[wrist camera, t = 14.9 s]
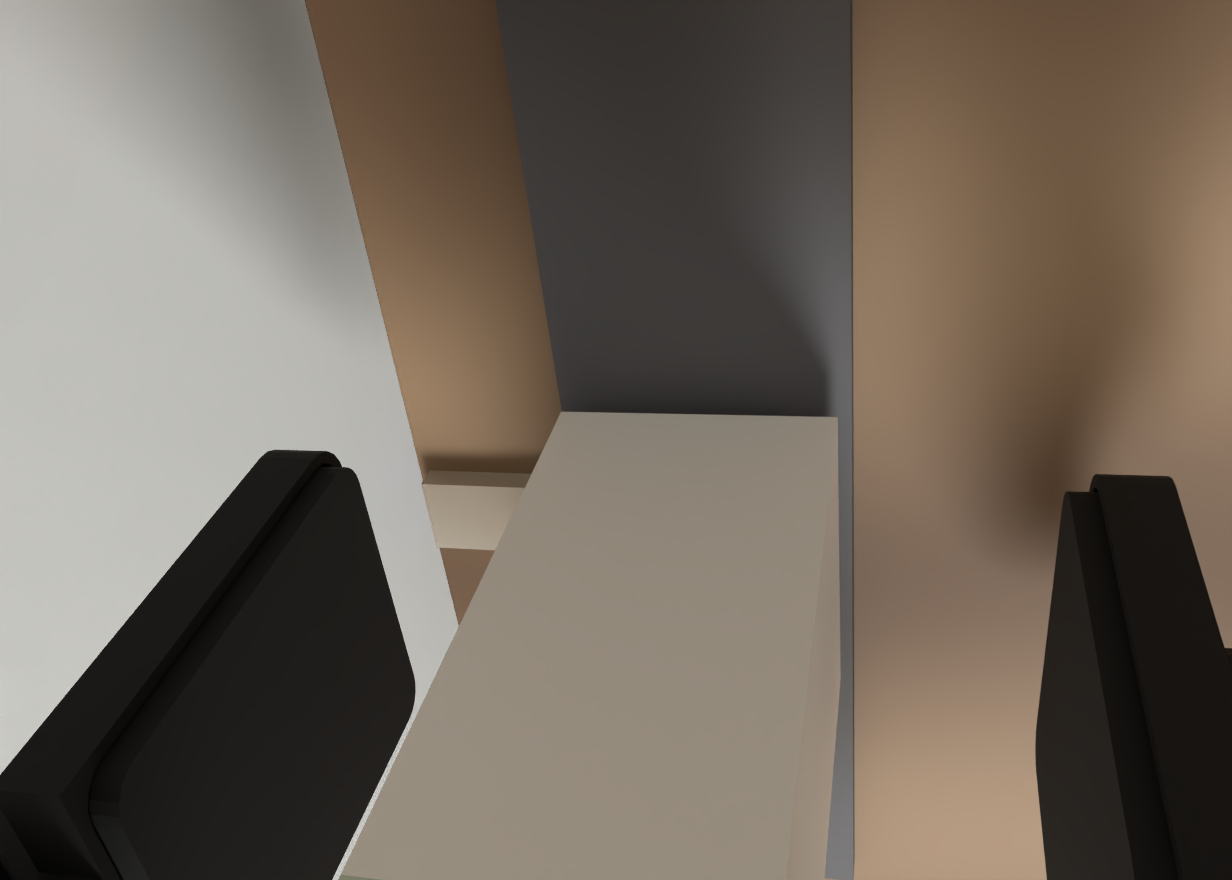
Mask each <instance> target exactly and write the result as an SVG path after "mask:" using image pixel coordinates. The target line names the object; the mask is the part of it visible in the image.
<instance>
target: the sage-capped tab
mask: <svg viewBox="0 0 1232 880" xmlns="http://www.w3.org/2000/svg"><path fill="white" fill-rule="evenodd" d="M840 680H841V669H840V580H839V490H838V417H809V416H758V415H706V414H655V413H604V412H561V413H560V415H559V417H558V419H557V421H556V424H555V426H554V428H553V430H552V432H551V434H550V436H549V438H548V440H547V442H546V445H545V447H544V449H543V451H542V453H541V455H540V457H539V459H538V461H537V463H536V466H535V468H534V470H533V472H532V474H531V476H530V478H529V480H528V482H527V485H526V487H525V489H524V491H523V493H522V495H521V497H520V499H519V501H518V503H517V506H516V508H515V510H514V512H513V514H512V516H511V518H510V520H509V522H508V524H507V527H506V529H505V531H504V533H503V535H502V537H501V539H500V541H499V543H498V545H497V548H496V550H495V552H494V554H493V556H492V558H491V560H490V562H489V564H488V566H487V569H486V571H485V573H484V575H483V577H482V579H481V581H480V583H479V585H478V588H477V590H476V592H475V594H474V596H473V598H472V600H471V602H470V604H469V606H468V609H467V611H466V613H465V615H464V617H463V619H462V621H461V623H460V625H459V627H458V630H457V632H456V634H455V636H454V638H453V640H452V642H451V644H450V646H449V648H448V651H447V653H446V655H445V657H444V659H443V661H442V663H441V665H440V667H439V669H438V672H437V674H436V676H435V678H434V680H433V682H432V684H431V686H430V688H429V691H428V693H427V695H426V697H425V699H424V701H423V703H422V705H421V707H420V709H419V712H418V714H417V716H416V718H415V720H414V722H413V724H412V726H411V728H410V730H409V733H408V735H407V737H406V739H405V741H404V743H403V745H402V747H401V749H400V751H399V754H398V756H397V758H396V760H395V762H394V764H393V766H392V768H391V770H390V773H389V775H388V777H387V779H386V781H385V783H384V785H383V787H382V789H381V791H380V794H379V796H378V798H377V800H376V802H375V804H374V806H373V808H372V810H371V812H370V815H369V817H368V819H367V821H366V823H365V825H364V827H363V829H362V831H361V833H360V836H359V838H358V840H357V842H356V844H355V846H354V848H353V850H352V852H351V854H350V857H349V859H348V861H347V863H346V865H345V867H344V869H343V871H342V873H341V876H340V878H339V880H824V878H825V865H826V853H827V841H828V828H829V816H830V803H831V791H832V779H833V766H834V754H835V742H836V729H837V717H838V704H839V692H840Z"/></svg>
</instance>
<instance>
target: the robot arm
mask: <svg viewBox="0 0 1232 880" xmlns="http://www.w3.org/2000/svg"><path fill="white" fill-rule="evenodd" d="M414 701H415V679H414V674H413V671H412V667H411V664H410V660H409V657H408V653H407V649H406V646H405V642H404V639H403V635H402V632H401V628H400V625H399V621H398V618H397V614H396V611H395V607H394V603H393V600H392V596H391V593H390V589H389V586H388V582H387V579H386V575H385V572H384V568H383V565H382V561H381V557H380V554H379V550H378V547H377V543H376V540H375V536H374V533H373V529H372V526H371V522H370V519H369V515H368V511H367V508H366V504H365V501H364V497H363V494H362V490H361V487H360V483H359V480H358V478H357V475H356V474H355V473H354V471H353V470H352V469H350V468H346V467H342V466H341V464H340V461H339V460H338V459H337V457H336V456H335V455H334V454H332V453H330V452H327V451H299V450H272V451H268V452H267V453H265V454H264V455H263V456H262V457H261V458H260V459H259V460H258V461H257V463H256V464H255V465H254V466H253V468H252V469H251V470H250V471H249V472H248V474H247V475H246V476H245V477H244V479H243V480H242V481H241V482H240V483H239V485H238V486H237V487H236V488H235V489H234V491H233V492H232V493H231V494H230V496H229V497H228V498H227V499H226V500H225V502H224V503H223V504H222V505H221V507H220V508H219V509H218V510H217V511H216V513H215V514H214V515H213V516H212V518H211V519H210V520H209V521H208V522H207V524H206V525H205V526H204V527H203V528H202V530H201V531H200V532H199V533H198V535H197V536H196V537H195V538H194V539H193V541H192V542H191V543H190V544H189V546H188V547H187V548H186V549H185V550H184V552H183V553H182V554H181V555H180V557H179V558H178V559H177V560H176V561H175V563H174V564H173V565H172V566H171V567H170V569H169V570H168V571H167V572H166V574H165V575H164V576H163V577H162V578H161V580H160V581H159V582H158V583H157V585H156V586H155V587H154V588H153V589H152V591H151V592H150V593H149V594H148V596H147V597H146V598H145V599H144V600H143V602H142V603H141V604H140V605H139V606H138V608H137V609H136V610H135V611H134V613H133V614H132V615H131V616H130V617H129V619H128V620H127V621H126V622H125V624H124V625H123V626H122V627H121V628H120V630H119V631H118V632H117V633H116V635H115V636H114V637H113V638H112V639H111V641H110V642H109V643H108V644H107V645H106V647H105V648H104V649H103V650H102V652H101V653H100V654H99V655H98V656H97V658H96V659H95V660H94V661H93V663H92V664H91V665H90V666H89V667H88V669H87V670H86V671H85V672H84V674H83V675H82V676H81V677H80V678H79V680H78V681H77V682H76V683H75V684H74V686H73V687H72V688H71V689H70V691H69V692H68V693H67V694H66V695H65V697H64V698H63V699H62V700H61V702H60V703H59V704H58V705H57V706H56V708H55V709H54V710H53V711H52V713H51V714H50V715H49V716H48V717H47V719H46V720H45V721H44V722H43V724H42V725H41V726H40V727H39V728H38V730H37V731H36V732H35V733H34V734H33V736H32V737H31V738H30V739H29V741H28V742H27V743H26V744H25V745H24V747H23V748H22V749H21V750H20V752H19V753H18V754H17V755H16V756H15V758H14V759H13V760H12V761H11V763H10V764H9V765H8V766H7V767H6V769H5V770H4V771H3V772H2V773H1V775H0V880H332V879H333V877H334V875H335V872H336V870H337V868H338V866H339V864H340V862H341V860H342V858H343V856H344V854H345V852H346V850H347V847H348V845H349V843H350V841H351V839H352V837H353V835H354V833H355V831H356V829H357V827H358V825H359V823H360V820H361V818H362V816H363V814H364V812H365V810H366V808H367V806H368V804H369V802H370V800H371V798H372V796H373V793H374V791H375V789H376V787H377V785H378V783H379V781H380V779H381V777H382V775H383V773H384V771H385V768H386V766H387V764H388V762H389V760H390V758H391V756H392V754H393V752H394V750H395V748H396V746H397V744H398V741H399V739H400V737H401V735H402V733H403V731H404V729H405V727H406V725H407V723H408V721H409V718H410V716H411V713H412V710H413V706H414ZM1035 758H1036V775H1037V785H1038V795H1039V805H1040V815H1041V825H1042V835H1043V845H1044V855H1045V865H1046V875H1047V880H1232V648H1224V644H1223V641H1222V638H1221V634H1220V631H1219V628H1218V624H1217V621H1216V618H1215V614H1214V611H1213V608H1212V604H1211V601H1210V598H1209V594H1208V591H1207V588H1206V584H1205V581H1204V578H1203V575H1202V571H1201V568H1200V565H1199V561H1198V558H1197V555H1196V551H1195V548H1194V545H1193V541H1192V538H1191V535H1190V531H1189V528H1188V525H1187V521H1186V518H1185V515H1184V511H1183V508H1182V505H1181V502H1180V498H1179V495H1178V492H1177V488H1176V485H1175V483H1174V481H1173V479H1172V478H1171V477H1169V476H1147V475H1113V474H1095V475H1094V476H1093V478H1092V481H1091V484H1090V490H1089V492H1074V491H1066V493H1065V495H1064V498H1063V504H1062V511H1061V520H1060V528H1059V537H1058V545H1057V554H1056V563H1055V571H1054V580H1053V588H1052V597H1051V605H1050V614H1049V622H1048V631H1047V639H1046V648H1045V656H1044V665H1043V674H1042V682H1041V691H1040V699H1039V708H1038V716H1037V725H1036V741H1035Z"/></svg>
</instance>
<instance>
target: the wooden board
mask: <svg viewBox="0 0 1232 880" xmlns="http://www.w3.org/2000/svg"><path fill="white" fill-rule="evenodd" d="M305 3H306V7H307V11H308V15H309V19H310V23H311V27H312V31H313V35H314V39H315V43H316V47H317V52H318V56H319V60H320V64H321V68H322V72H323V76H324V80H325V84H326V88H327V92H328V96H329V100H330V104H331V108H332V112H333V117H334V121H335V125H336V129H337V133H338V137H339V141H340V145H341V149H342V153H343V157H344V161H345V165H346V169H347V173H348V177H349V182H350V186H351V190H352V194H353V198H354V202H355V206H356V210H357V214H358V218H359V222H360V226H361V230H362V234H363V238H364V242H365V247H366V251H367V255H368V259H369V263H370V267H371V271H372V275H373V279H374V283H375V287H376V291H377V295H378V299H379V303H380V307H381V311H382V316H383V320H384V324H385V328H386V332H387V336H388V340H389V344H390V348H391V352H392V356H393V360H394V364H395V368H396V372H397V376H398V381H399V385H400V389H401V393H402V397H403V401H404V405H405V409H406V413H407V417H408V421H409V425H410V429H411V433H412V437H413V441H414V446H415V450H416V454H417V458H418V462H419V466H420V470H421V474H422V478H423V482H422V488H423V492H424V496H425V500H426V505H427V509H428V513H429V517H430V521H431V525H432V529H433V533H434V537H435V541H436V545H437V547H438V548H440V551H441V555H442V559H443V563H444V567H445V571H446V576H447V580H448V584H449V588H450V592H451V596H452V600H453V604H454V608H455V612H456V616H457V620H458V624H459V625H460V623H461V621H462V619H463V617H464V615H465V613H466V611H467V609H468V606H469V604H470V602H471V600H472V598H473V596H474V594H475V592H476V590H477V588H478V585H479V583H480V581H481V579H482V577H483V575H484V573H485V571H486V569H487V566H488V564H489V562H490V560H491V558H492V556H493V554H494V552H495V550H496V548H497V545H498V543H499V541H500V539H501V537H502V535H503V533H504V531H505V529H506V527H507V524H508V522H509V520H510V518H511V516H512V514H513V512H514V510H515V508H516V506H517V503H518V501H519V499H520V497H521V495H522V493H523V491H524V489H525V487H526V485H527V482H528V480H529V478H530V476H531V474H532V472H533V470H534V468H535V466H536V463H537V461H538V459H539V457H540V455H541V453H542V451H543V449H544V447H545V445H546V442H547V440H548V438H549V436H550V434H551V432H552V430H553V428H554V426H555V424H556V421H557V419H558V417H559V415H560V413H561V412H604V413H655V414H706V415H758V416H809V417H838V490H839V580H840V669H841V680H840V692H839V704H838V717H837V729H836V742H835V754H834V766H833V779H832V791H831V803H830V816H829V828H828V841H827V853H826V865H825V878H824V880H1047V875H1046V865H1045V855H1044V845H1043V835H1042V825H1041V815H1040V805H1039V795H1038V785H1037V775H1036V758H1035V741H1036V725H1037V716H1038V708H1039V699H1040V691H1041V682H1042V674H1043V665H1044V656H1045V648H1046V639H1047V631H1048V622H1049V614H1050V605H1051V597H1052V588H1053V580H1054V571H1055V563H1056V554H1057V545H1058V537H1059V528H1060V520H1061V511H1062V504H1063V498H1064V495H1065V493H1066V491H1074V492H1089V490H1090V484H1091V481H1092V478H1093V476H1094V475H1095V474H1113V475H1147V476H1169V477H1171V478H1172V479H1173V481H1174V483H1175V485H1176V488H1177V492H1178V495H1179V498H1180V502H1181V505H1182V508H1183V511H1184V515H1185V518H1186V521H1187V525H1188V528H1189V531H1190V535H1191V538H1192V541H1193V545H1194V548H1195V551H1196V555H1197V558H1198V561H1199V565H1200V568H1201V571H1202V575H1203V578H1204V581H1205V584H1206V588H1207V591H1208V594H1209V598H1210V601H1211V604H1212V608H1213V611H1214V614H1215V618H1216V621H1217V624H1218V628H1219V631H1220V634H1221V638H1222V641H1223V644H1224V648H1232V0H305Z"/></svg>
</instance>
